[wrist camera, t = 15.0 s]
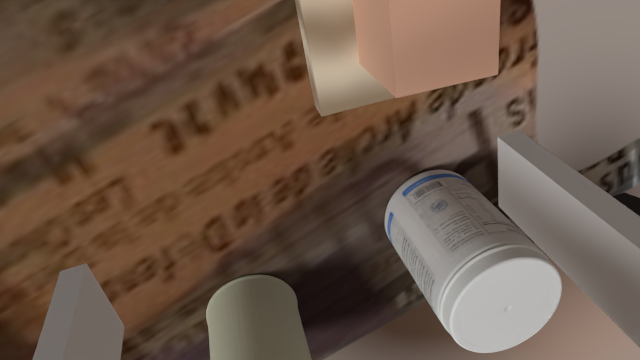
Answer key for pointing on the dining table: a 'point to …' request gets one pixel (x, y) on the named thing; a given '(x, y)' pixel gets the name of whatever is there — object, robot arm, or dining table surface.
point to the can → (256, 321)
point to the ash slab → (335, 57)
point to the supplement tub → (471, 262)
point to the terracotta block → (427, 42)
